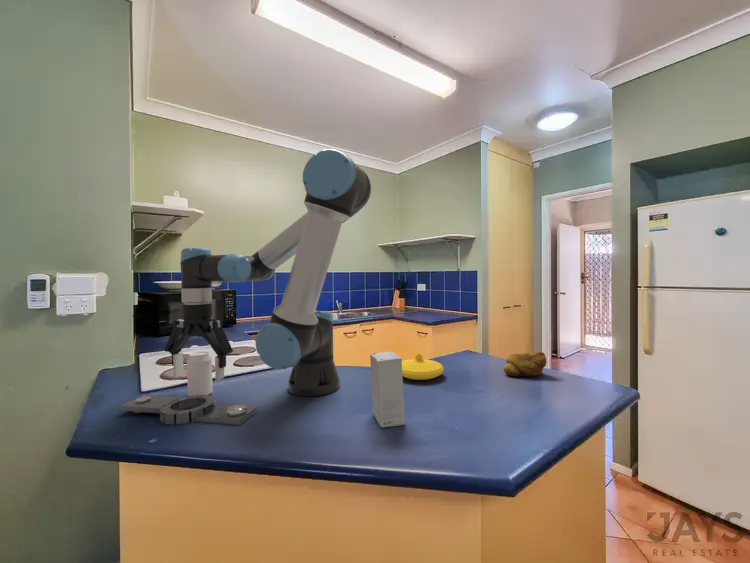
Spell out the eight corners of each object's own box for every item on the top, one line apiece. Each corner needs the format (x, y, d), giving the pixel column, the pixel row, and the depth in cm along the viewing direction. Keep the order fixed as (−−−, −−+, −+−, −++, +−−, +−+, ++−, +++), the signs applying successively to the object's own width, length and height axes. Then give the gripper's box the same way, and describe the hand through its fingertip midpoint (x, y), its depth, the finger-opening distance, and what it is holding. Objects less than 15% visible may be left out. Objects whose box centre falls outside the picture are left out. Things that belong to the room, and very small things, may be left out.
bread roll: (509, 380, 99) (509, 354, 99) (496, 370, 109) (496, 347, 109) (550, 378, 100) (550, 353, 100) (533, 369, 110) (533, 345, 109)
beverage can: (197, 391, 95) (196, 350, 95) (217, 391, 94) (215, 350, 94) (182, 399, 89) (181, 356, 89) (203, 399, 88) (202, 356, 88)
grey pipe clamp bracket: (262, 408, 82) (261, 396, 82) (233, 430, 71) (232, 416, 71) (153, 400, 89) (153, 389, 89) (111, 419, 77) (110, 406, 77)
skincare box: (405, 425, 71) (404, 358, 71) (379, 429, 70) (377, 360, 69) (394, 410, 79) (393, 349, 79) (370, 412, 78) (369, 351, 77)
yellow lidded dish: (384, 376, 105) (384, 355, 105) (416, 366, 116) (416, 347, 116) (422, 388, 94) (422, 364, 93) (453, 376, 104) (453, 354, 104)
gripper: (244, 302, 92) (246, 375, 93) (170, 301, 97) (172, 370, 98) (227, 305, 85) (229, 384, 85) (148, 303, 90) (150, 379, 91)
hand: (198, 377), depth 92 cm, fingers open, 13 cm apart
